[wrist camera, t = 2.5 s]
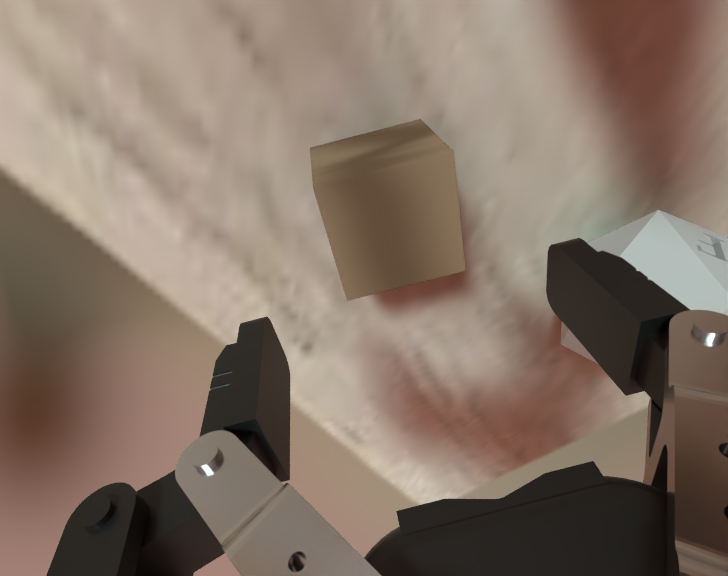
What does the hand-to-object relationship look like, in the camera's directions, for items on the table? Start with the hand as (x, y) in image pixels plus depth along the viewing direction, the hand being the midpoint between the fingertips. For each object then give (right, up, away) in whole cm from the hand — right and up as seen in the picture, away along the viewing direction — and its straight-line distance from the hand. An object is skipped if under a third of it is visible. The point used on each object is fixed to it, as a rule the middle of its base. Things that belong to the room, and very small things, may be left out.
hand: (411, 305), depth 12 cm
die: (+13, +2, +13) cm, 18 cm away
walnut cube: (-1, +5, +8) cm, 10 cm away
